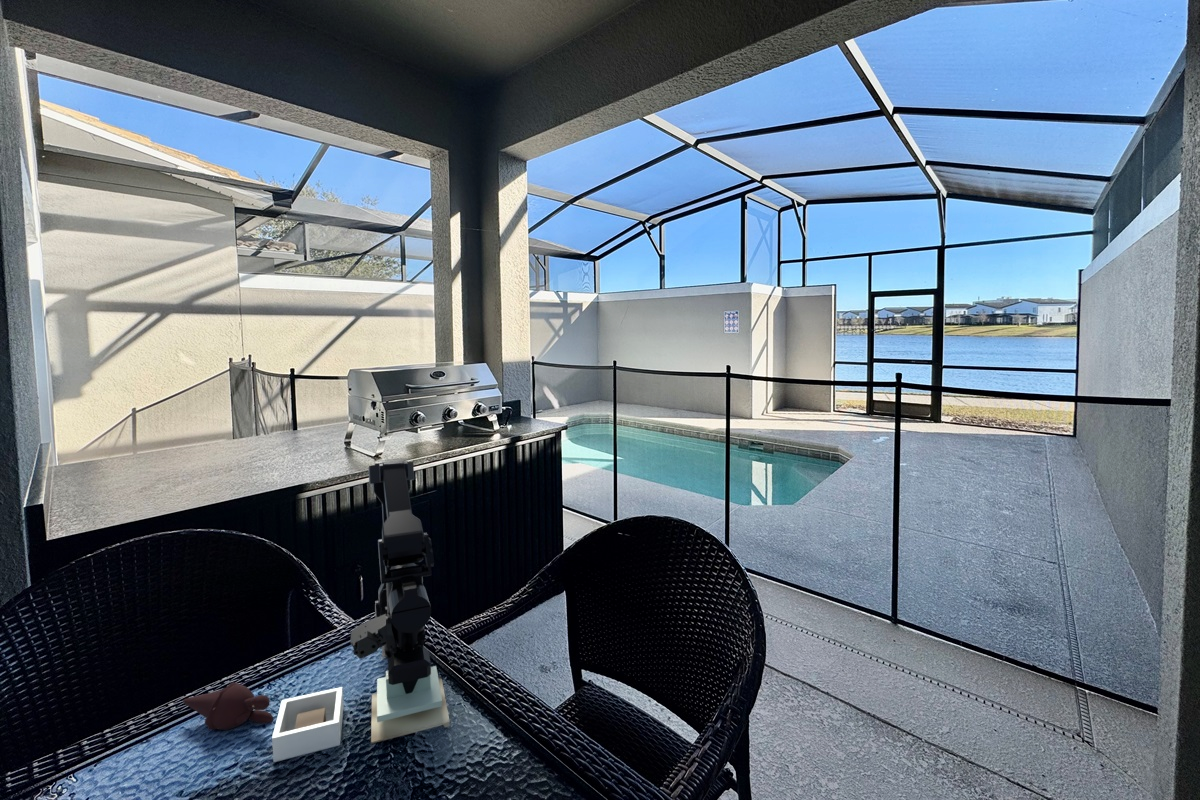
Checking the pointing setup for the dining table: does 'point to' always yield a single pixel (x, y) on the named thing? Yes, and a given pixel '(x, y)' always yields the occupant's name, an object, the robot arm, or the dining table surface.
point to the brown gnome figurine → (230, 707)
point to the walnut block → (310, 718)
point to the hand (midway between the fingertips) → (408, 687)
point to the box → (311, 737)
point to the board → (408, 721)
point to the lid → (407, 697)
